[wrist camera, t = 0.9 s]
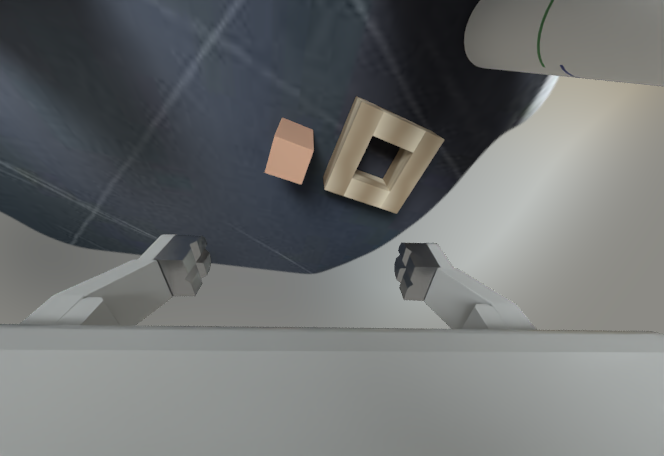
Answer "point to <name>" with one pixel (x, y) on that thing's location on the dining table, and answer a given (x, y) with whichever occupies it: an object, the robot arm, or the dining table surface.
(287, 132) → the peg
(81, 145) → the dining table surface
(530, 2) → the cylindrical container
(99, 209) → the dining table surface
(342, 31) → the dining table surface
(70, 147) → the dining table surface
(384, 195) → the socket block
